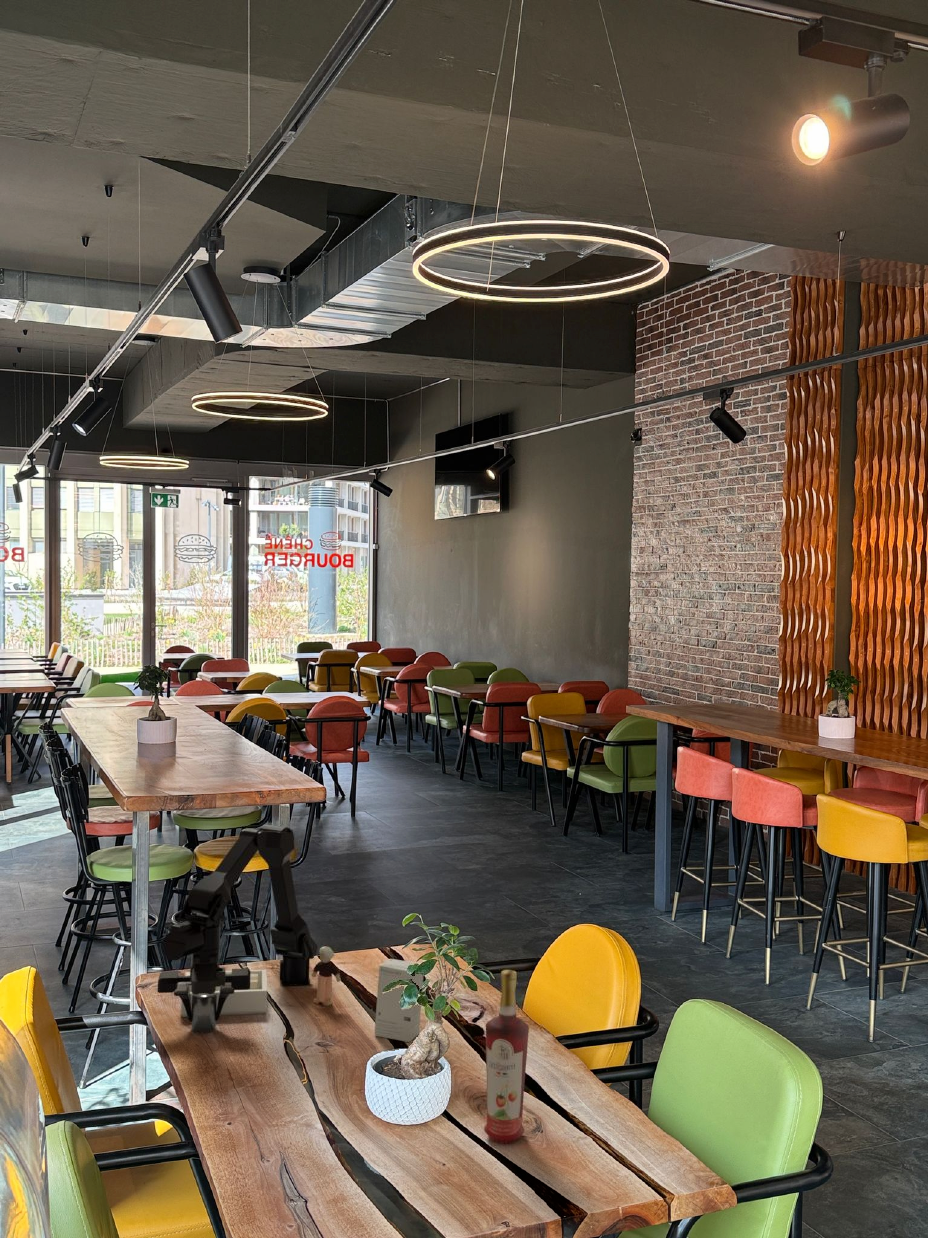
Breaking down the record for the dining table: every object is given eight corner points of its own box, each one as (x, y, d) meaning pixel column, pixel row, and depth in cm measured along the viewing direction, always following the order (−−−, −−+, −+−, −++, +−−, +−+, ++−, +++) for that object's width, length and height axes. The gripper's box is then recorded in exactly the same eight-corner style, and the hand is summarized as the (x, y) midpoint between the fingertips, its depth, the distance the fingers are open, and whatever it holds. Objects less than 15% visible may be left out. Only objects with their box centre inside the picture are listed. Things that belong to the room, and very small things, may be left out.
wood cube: (234, 997, 245) (235, 975, 245) (256, 996, 246) (257, 974, 246) (233, 1005, 240) (234, 982, 240) (257, 1004, 241) (257, 981, 241)
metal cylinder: (216, 1023, 231) (217, 990, 231) (215, 1032, 226) (216, 999, 226) (191, 1024, 230) (192, 991, 230) (190, 1034, 225) (191, 1000, 225)
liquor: (529, 1131, 187) (534, 968, 187) (519, 1151, 180) (524, 982, 180) (488, 1124, 189) (493, 963, 189) (477, 1143, 182) (482, 976, 182)
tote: (265, 991, 251) (266, 969, 251) (266, 1013, 237) (266, 990, 237) (185, 994, 248) (185, 972, 248) (181, 1017, 234) (181, 994, 234)
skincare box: (374, 1037, 226) (376, 965, 226) (385, 1026, 232) (387, 957, 232) (411, 1043, 223) (413, 971, 223) (422, 1033, 229) (424, 962, 229)
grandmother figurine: (305, 1003, 244) (307, 947, 244) (312, 998, 248) (314, 942, 247) (337, 1008, 242) (338, 951, 242) (344, 1002, 245) (345, 946, 245)
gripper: (156, 960, 218) (154, 1038, 218) (251, 957, 222) (249, 1034, 222) (160, 943, 229) (158, 1017, 229) (251, 941, 233) (249, 1014, 233)
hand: (203, 1021), depth 228 cm, fingers closed on metal cylinder, 5 cm apart
